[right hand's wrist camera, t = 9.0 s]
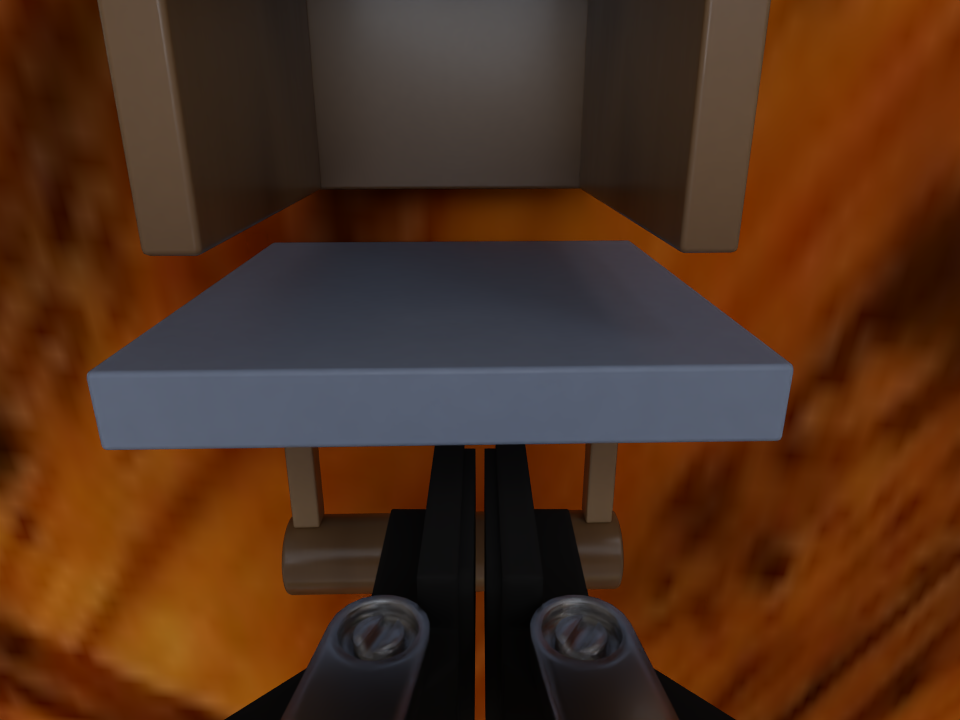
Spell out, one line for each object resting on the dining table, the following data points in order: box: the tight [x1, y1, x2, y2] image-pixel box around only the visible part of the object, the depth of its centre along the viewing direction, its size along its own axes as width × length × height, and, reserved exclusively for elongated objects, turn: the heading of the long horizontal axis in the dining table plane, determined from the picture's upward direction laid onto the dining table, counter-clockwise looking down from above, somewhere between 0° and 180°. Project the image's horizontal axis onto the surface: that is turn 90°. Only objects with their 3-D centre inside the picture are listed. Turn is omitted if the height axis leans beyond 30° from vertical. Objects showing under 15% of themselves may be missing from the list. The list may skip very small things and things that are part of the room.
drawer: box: [87, 0, 793, 595], centre depth 12 cm, size 21×10×10 cm, turn 0°
